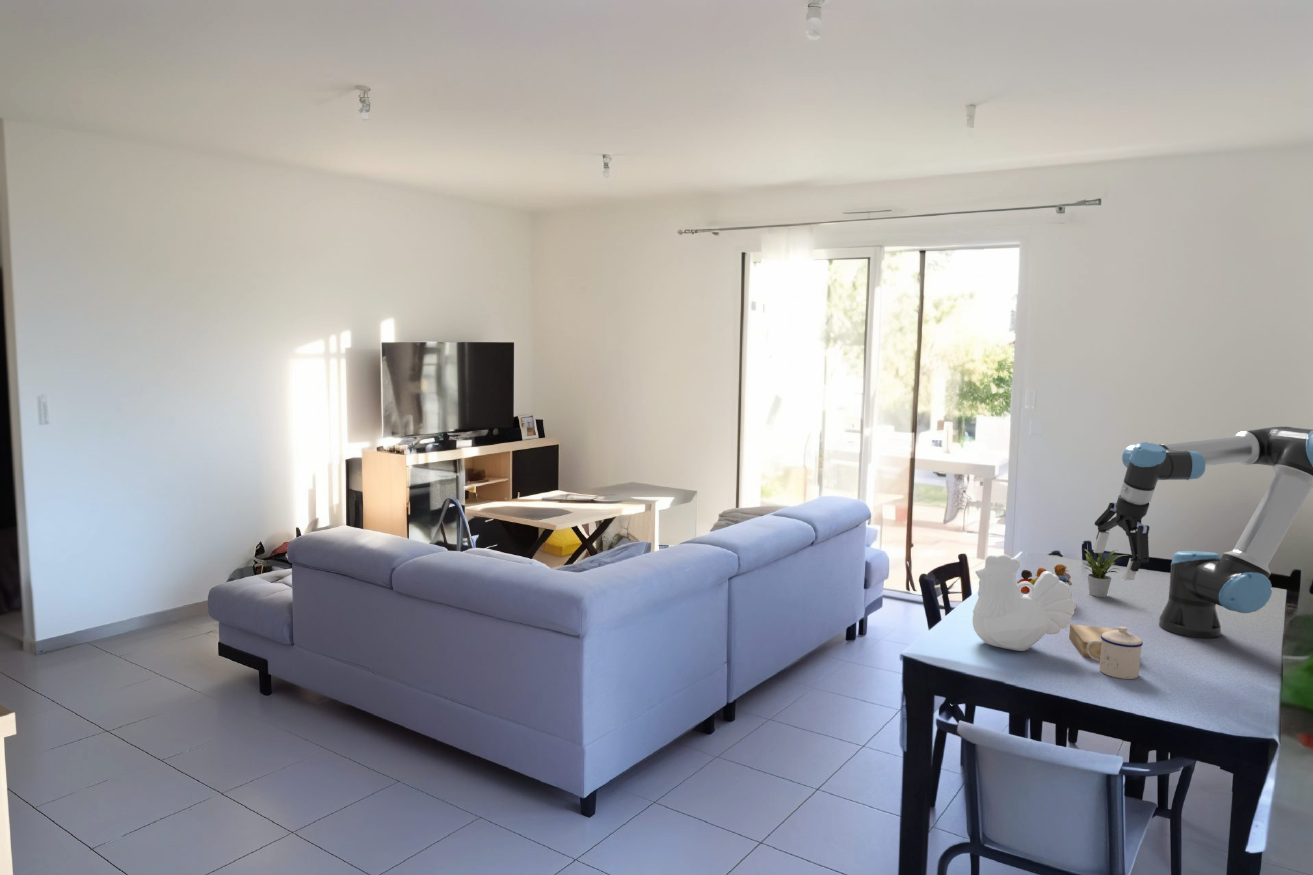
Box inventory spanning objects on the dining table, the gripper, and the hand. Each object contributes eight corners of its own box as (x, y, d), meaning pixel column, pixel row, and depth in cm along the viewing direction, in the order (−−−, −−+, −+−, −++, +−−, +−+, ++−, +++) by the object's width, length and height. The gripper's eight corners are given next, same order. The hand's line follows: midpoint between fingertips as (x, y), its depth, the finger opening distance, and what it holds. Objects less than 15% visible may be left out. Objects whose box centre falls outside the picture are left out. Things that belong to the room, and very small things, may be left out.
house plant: (1128, 594, 284) (1132, 545, 283) (1125, 603, 273) (1129, 553, 271) (1080, 586, 292) (1084, 539, 290) (1075, 595, 280) (1079, 547, 279)
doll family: (1064, 599, 276) (1068, 559, 275) (1088, 607, 267) (1091, 566, 266) (1011, 603, 270) (1014, 562, 268) (1033, 612, 261) (1036, 570, 259)
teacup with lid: (1139, 670, 214) (1143, 625, 213) (1140, 682, 206) (1144, 635, 205) (1085, 661, 219) (1089, 617, 218) (1084, 672, 211) (1088, 626, 210)
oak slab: (1120, 643, 234) (1121, 628, 234) (1137, 662, 220) (1138, 647, 219) (1069, 638, 237) (1070, 624, 237) (1082, 656, 223) (1084, 641, 222)
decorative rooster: (968, 650, 225) (974, 557, 223) (972, 632, 240) (978, 545, 237) (1073, 666, 215) (1081, 570, 213) (1071, 647, 230) (1079, 557, 227)
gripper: (1093, 477, 240) (1074, 541, 249) (1152, 522, 218) (1129, 591, 227) (1118, 476, 241) (1098, 541, 250) (1178, 521, 219) (1154, 590, 228)
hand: (1112, 565), depth 238 cm, fingers open, 13 cm apart
